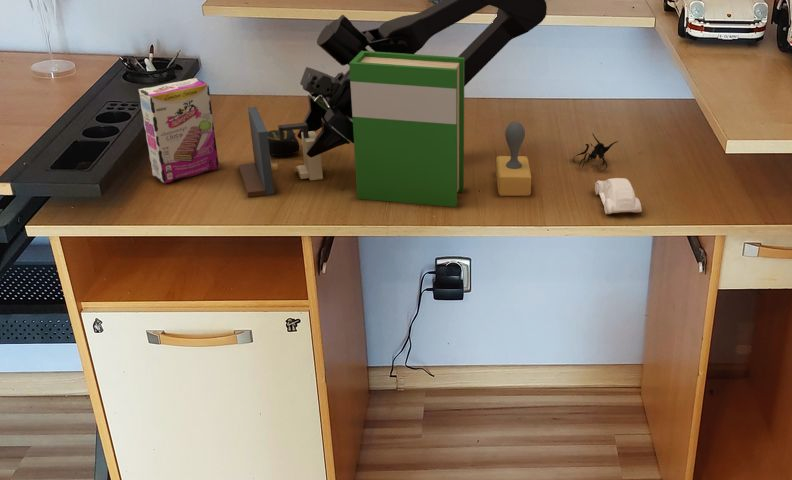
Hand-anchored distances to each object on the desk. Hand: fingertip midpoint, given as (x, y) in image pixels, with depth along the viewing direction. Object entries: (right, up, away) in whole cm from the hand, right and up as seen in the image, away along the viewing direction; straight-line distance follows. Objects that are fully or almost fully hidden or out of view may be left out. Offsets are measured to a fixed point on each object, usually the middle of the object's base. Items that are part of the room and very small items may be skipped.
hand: (303, 146), depth 164 cm
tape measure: (-7, +1, +13) cm, 14 cm away
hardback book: (+20, -9, -3) cm, 22 cm away
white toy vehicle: (+56, -11, -4) cm, 57 cm away
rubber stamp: (+38, -7, +2) cm, 39 cm away
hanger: (-1, -5, +3) cm, 6 cm away
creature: (+54, -2, +11) cm, 55 cm away
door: (-7, -6, +1) cm, 10 cm away
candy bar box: (-22, -5, +3) cm, 23 cm away
